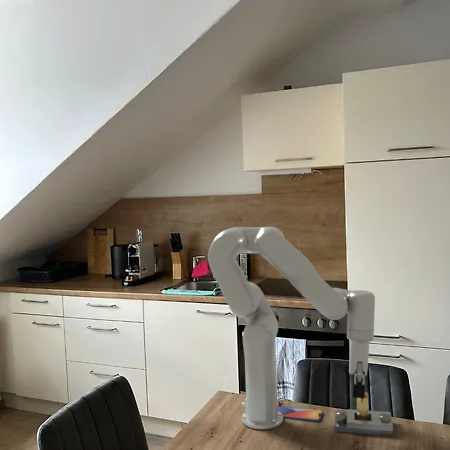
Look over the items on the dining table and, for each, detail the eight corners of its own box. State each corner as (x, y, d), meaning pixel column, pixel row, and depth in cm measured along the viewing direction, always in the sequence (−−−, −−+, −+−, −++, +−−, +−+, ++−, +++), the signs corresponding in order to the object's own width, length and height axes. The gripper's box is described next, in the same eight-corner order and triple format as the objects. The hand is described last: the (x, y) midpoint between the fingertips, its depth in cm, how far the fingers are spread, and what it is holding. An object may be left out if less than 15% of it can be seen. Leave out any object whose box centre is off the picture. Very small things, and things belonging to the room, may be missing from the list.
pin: (355, 426, 145) (354, 392, 145) (362, 423, 147) (361, 390, 147) (363, 430, 143) (363, 396, 142) (371, 426, 145) (370, 393, 144)
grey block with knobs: (334, 431, 143) (334, 418, 142) (335, 417, 151) (335, 405, 151) (392, 436, 139) (392, 423, 138) (390, 422, 147) (390, 409, 147)
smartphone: (276, 408, 161) (276, 405, 161) (323, 413, 155) (323, 410, 155) (271, 418, 154) (271, 415, 154) (319, 423, 149) (319, 420, 148)
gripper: (347, 325, 153) (345, 379, 154) (346, 341, 136) (344, 401, 137) (372, 326, 151) (370, 381, 152) (375, 343, 134) (373, 404, 135)
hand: (358, 391), depth 145 cm, fingers open, 9 cm apart
